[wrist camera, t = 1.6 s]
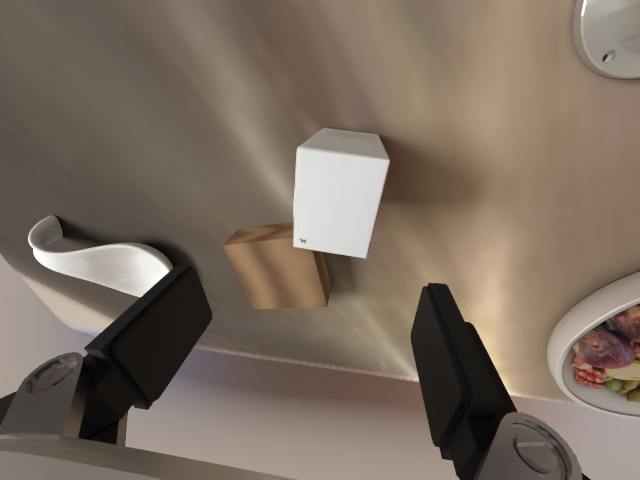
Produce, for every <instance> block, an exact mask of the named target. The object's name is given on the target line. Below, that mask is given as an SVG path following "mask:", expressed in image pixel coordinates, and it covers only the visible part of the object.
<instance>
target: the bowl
mask: <svg viewBox="0 0 640 480" xmlns="http://www.w3.org/2000/svg"><path fill="white" fill-rule="evenodd" d="M547 360H548V365H549V368H550V371H551V373H552V375H553V377H554V379H555V381H556V382H557V384H558V385H559V387H560V388H561V389H562V391H563V392H564V393H565V394H566V395H567V396H568V397H570V398H571V399H572V400H574V401H576V402H577V403H579V404H581V405H583V406H585V407H587V408H590V409H593V410H595V411H598V412H602V413H606V414H610V415H614V416H619V417H625V418H632V419H640V271H639V272H636V273H634V274H631V275H629V276H626V277H624V278H621V279H619V280H617V281H615V282H613V283H611V284H609V285H607V286H605V287H603V288H601V289H599V290H597V291H596V292H594V293H592V294H591V295H589V296H588V297H586V298H585V299H583V300H582V301H581V302H579V303H578V304H577V305H575V306H574V307H573V308H572V309H571V310H570V311H568V313H567V314H566V315H565V316H564V317H563V318H562V319H561V320H560V321H559V323H558V324H557V325H556V327H555V329H554V330H553V332H552V334H551V337H550V339H549V343H548V347H547Z"/></svg>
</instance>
